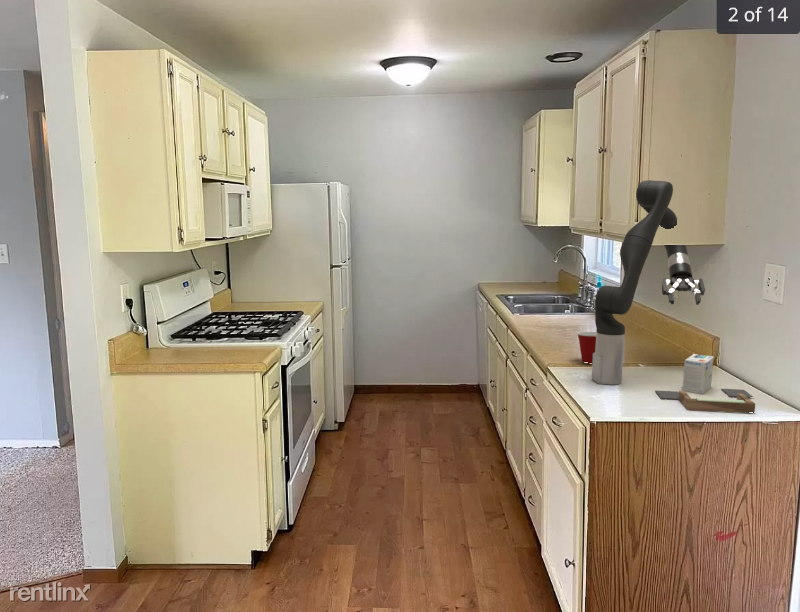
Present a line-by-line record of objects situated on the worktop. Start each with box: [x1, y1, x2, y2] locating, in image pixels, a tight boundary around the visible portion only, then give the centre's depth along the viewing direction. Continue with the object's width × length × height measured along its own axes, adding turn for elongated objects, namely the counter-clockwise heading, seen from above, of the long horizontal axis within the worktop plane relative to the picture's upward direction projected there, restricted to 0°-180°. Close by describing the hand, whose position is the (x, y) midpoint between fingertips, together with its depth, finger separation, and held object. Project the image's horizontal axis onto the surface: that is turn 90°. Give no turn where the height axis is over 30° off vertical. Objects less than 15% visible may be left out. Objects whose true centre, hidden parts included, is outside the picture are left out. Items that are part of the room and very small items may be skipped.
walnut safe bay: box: [678, 390, 756, 414], centre depth 186 cm, size 10×18×3 cm, turn 80°
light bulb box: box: [681, 353, 715, 395], centre depth 203 cm, size 11×7×11 cm, turn 141°
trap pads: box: [655, 388, 754, 401], centre depth 197 cm, size 14×29×1 cm, turn 80°
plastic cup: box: [576, 331, 596, 363], centre depth 238 cm, size 11×11×12 cm
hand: (685, 303), depth 221 cm, fingers open, 8 cm apart
